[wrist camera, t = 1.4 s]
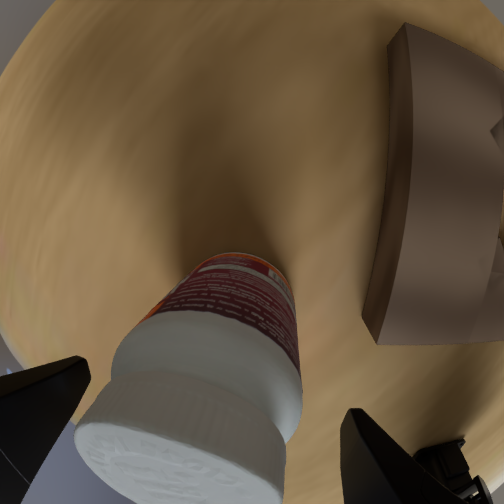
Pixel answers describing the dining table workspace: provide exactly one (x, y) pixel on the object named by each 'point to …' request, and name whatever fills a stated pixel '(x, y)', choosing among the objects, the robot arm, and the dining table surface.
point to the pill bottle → (202, 392)
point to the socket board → (440, 198)
